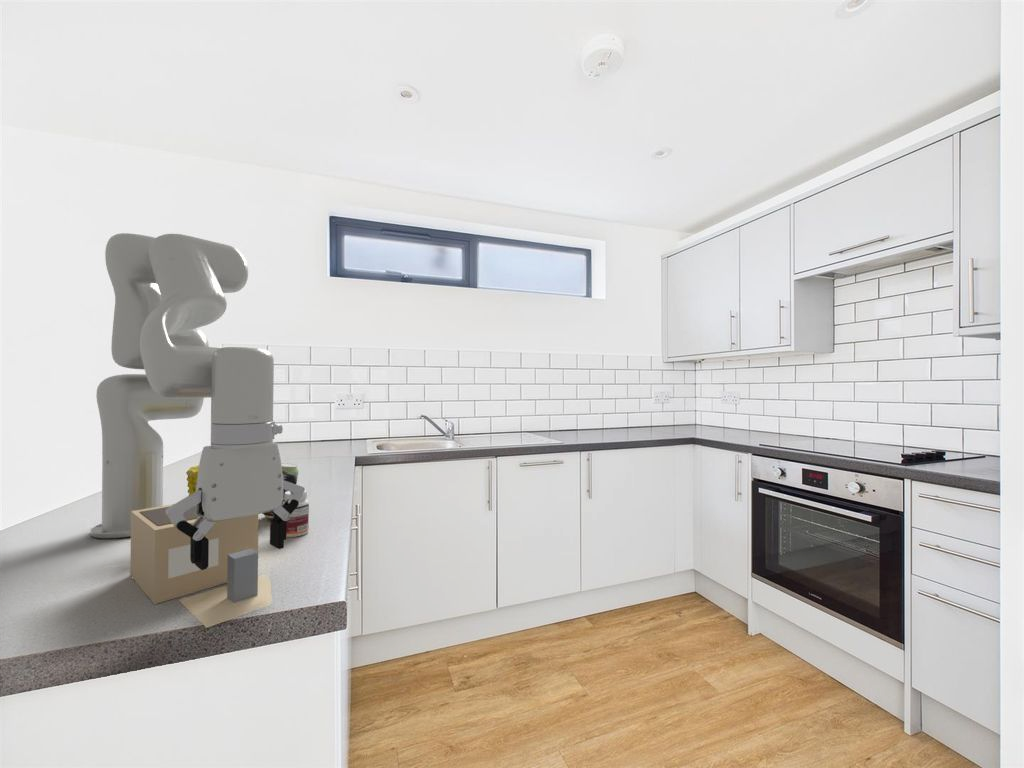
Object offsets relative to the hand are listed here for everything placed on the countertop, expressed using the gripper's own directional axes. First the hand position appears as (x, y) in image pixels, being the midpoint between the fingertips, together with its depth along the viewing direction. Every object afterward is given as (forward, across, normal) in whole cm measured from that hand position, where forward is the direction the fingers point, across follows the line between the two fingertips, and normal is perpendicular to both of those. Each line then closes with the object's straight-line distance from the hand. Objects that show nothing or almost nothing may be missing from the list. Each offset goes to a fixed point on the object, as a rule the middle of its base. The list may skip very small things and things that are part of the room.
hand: (241, 556), depth 63 cm
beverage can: (+6, -20, -34) cm, 40 cm away
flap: (+6, 0, +1) cm, 6 cm away
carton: (+6, +2, -13) cm, 14 cm away
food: (+6, -7, -31) cm, 33 cm away
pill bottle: (+6, -17, -20) cm, 27 cm away
